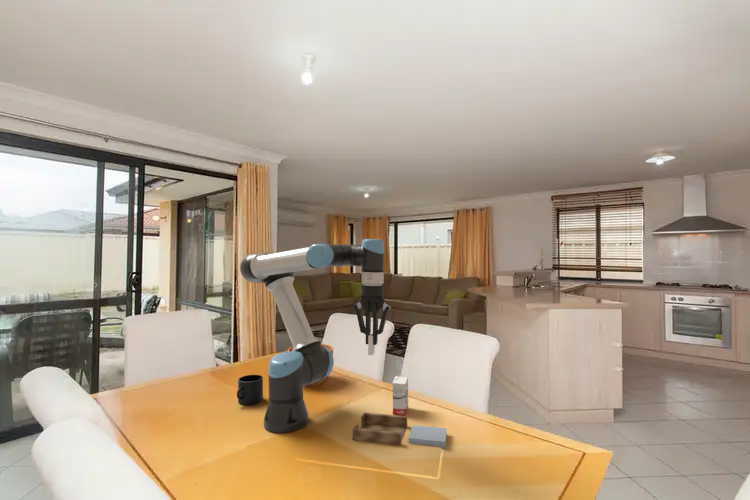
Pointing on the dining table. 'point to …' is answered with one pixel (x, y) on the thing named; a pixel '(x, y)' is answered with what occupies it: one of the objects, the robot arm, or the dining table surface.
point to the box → (381, 428)
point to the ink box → (400, 395)
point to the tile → (428, 436)
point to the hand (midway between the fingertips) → (371, 353)
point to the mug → (250, 389)
